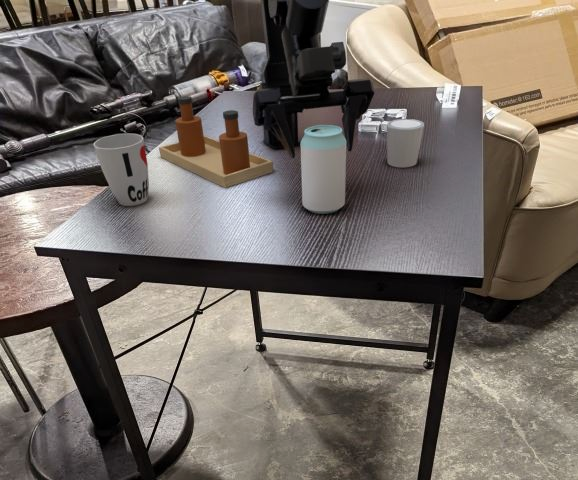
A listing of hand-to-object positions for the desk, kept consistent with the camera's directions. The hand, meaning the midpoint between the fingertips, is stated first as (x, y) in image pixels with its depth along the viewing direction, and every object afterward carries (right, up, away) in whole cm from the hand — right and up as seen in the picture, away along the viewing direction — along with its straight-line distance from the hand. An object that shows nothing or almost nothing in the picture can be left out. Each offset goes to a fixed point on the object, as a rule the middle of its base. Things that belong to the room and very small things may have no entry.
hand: (322, 153), depth 82 cm
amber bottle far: (-25, +12, +28) cm, 39 cm away
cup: (-33, -4, +11) cm, 35 cm away
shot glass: (+17, +6, +19) cm, 26 cm away
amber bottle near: (-15, +4, +18) cm, 24 cm away
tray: (-20, +8, +23) cm, 32 cm away
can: (+1, -7, +5) cm, 9 cm away
